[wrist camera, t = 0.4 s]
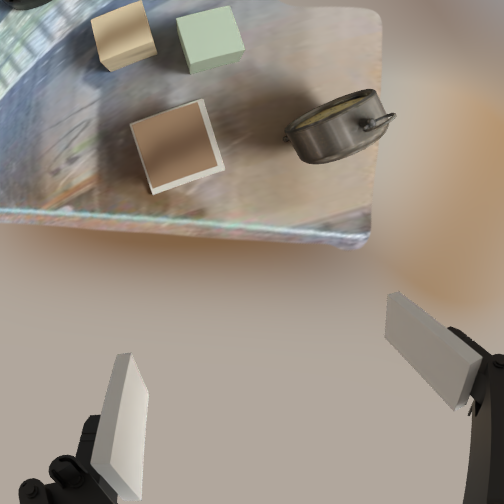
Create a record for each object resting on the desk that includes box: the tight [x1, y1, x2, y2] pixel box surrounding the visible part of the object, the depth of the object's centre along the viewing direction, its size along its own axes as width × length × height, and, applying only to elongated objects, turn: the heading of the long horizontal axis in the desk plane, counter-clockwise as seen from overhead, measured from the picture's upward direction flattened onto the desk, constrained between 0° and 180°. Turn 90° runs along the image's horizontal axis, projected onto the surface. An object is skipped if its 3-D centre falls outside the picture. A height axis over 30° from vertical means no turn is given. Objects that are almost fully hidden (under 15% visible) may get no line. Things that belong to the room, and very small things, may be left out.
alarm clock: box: [283, 89, 396, 164], centre depth 30 cm, size 11×5×16 cm, turn 121°
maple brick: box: [91, 0, 157, 72], centre depth 28 cm, size 6×6×5 cm
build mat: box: [129, 98, 225, 195], centre depth 35 cm, size 9×9×1 cm
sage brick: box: [176, 6, 245, 75], centre depth 30 cm, size 6×6×5 cm
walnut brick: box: [132, 102, 218, 188], centre depth 33 cm, size 7×7×5 cm
